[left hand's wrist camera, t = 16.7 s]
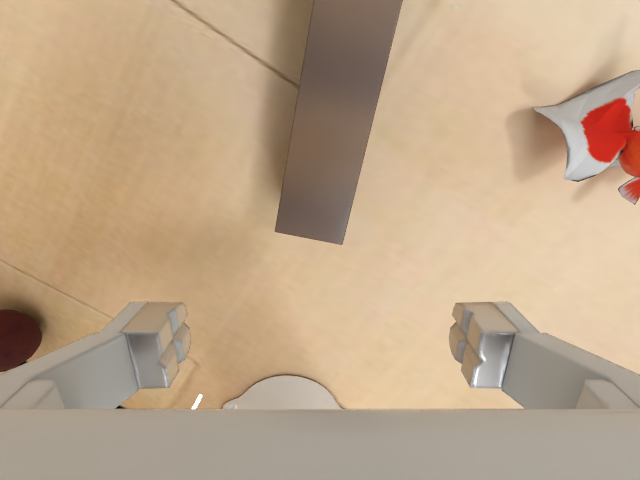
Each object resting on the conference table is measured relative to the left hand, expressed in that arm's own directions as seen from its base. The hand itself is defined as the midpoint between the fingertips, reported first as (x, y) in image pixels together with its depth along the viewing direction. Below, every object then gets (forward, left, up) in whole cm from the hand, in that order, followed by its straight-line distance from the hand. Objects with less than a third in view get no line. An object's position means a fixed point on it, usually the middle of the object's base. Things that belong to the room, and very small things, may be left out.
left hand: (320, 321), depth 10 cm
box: (+9, -1, -28) cm, 30 cm away
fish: (+7, -27, -28) cm, 40 cm away
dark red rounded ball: (-24, +35, -28) cm, 51 cm away
